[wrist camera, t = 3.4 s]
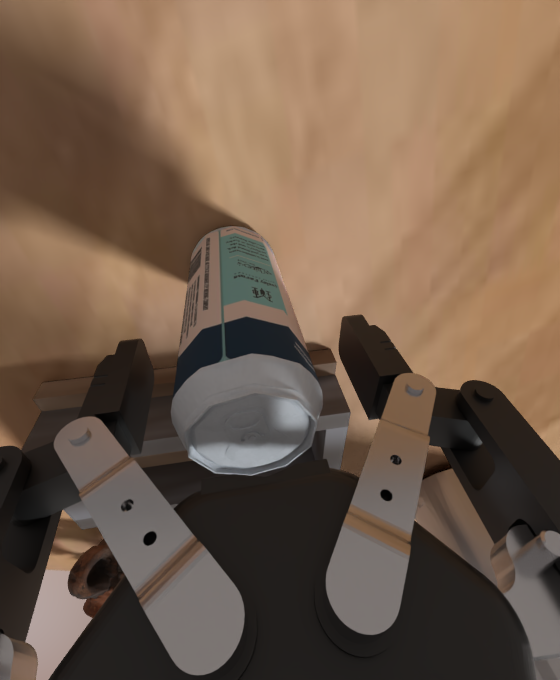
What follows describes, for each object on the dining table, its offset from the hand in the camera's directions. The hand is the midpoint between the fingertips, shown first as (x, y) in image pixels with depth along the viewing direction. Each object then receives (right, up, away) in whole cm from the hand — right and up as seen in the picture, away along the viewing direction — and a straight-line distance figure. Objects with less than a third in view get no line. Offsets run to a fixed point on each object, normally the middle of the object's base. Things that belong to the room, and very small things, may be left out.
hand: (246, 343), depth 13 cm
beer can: (-1, +5, +6) cm, 8 cm away
